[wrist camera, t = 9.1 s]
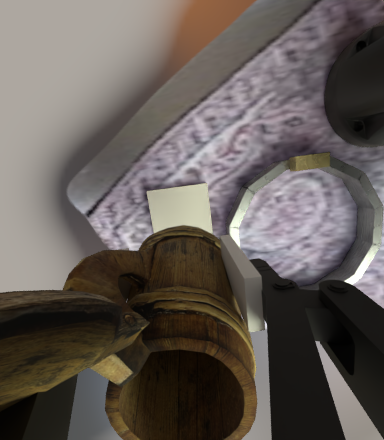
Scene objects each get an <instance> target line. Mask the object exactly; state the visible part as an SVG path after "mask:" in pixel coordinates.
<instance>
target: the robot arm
mask: <svg viewBox="0 0 384 440" xmlns="http://www.w3.org/2000/svg"><path fill="white" fill-rule="evenodd" d="M325 108H326V113H327V116H328V119H329V122H330V124H331V126H332V127H333V129H334V130H335V132H336V133H337V134H338V135H339V136H340V137H341V138H342V139H344V140H345V141H347V142H348V143H350V144H353V145H356V146H360V147H378V146H384V21H382V22H380V23H378V24H376V25H375V26H373V27H371V28H370V29H368V30H367V31H365V32H364V33H363V34H361V35H360V36H359V37H358V38H356V39H355V40H354V41H353V42H352V43H350V44H349V45H348V46H347V47H346V48H345V49H344V50H343V51H342V53H341V54H340V55H339V57H338V58H337V60H336V61H335V63H334V65H333V67H332V69H331V71H330V74H329V77H328V80H327V84H326V89H325ZM220 245H221V254H222V259H223V262H224V266H225V269H226V272H227V275H228V278H229V281H230V285H231V288H232V291H233V295H234V297H235V300H236V302H237V305H238V307H239V309H240V312H241V314H242V317H243V319H244V322H245V324H246V327H247V329H248V331H249V332H253V331H261V330H265V322H264V320H265V321H266V323H267V333H268V357H269V383H270V407H271V433H272V440H346V439H345V436H344V433H343V430H342V426H341V423H340V420H339V417H338V414H337V410H336V407H335V404H334V401H333V397H332V394H331V391H330V388H329V384H328V381H327V378H326V375H325V372H324V369H323V365H322V362H321V359H320V356H319V352H318V349H317V346H316V342H315V341H320V344H321V345H322V346H323V348H324V349H325V351H326V353H327V354H328V356H329V357H330V359H331V360H332V362H333V363H334V365H335V366H336V368H337V369H338V371H339V372H340V374H341V375H342V377H343V378H344V380H345V381H346V383H347V384H348V386H349V387H350V389H351V390H352V392H353V393H354V395H355V396H356V398H357V399H358V401H359V402H360V404H361V406H362V407H363V409H364V410H365V411H366V413H367V415H368V416H369V418H370V419H371V421H372V422H373V424H374V425H375V427H376V428H377V430H378V431H379V433H380V434H381V436H382V437H383V439H384V309H383V308H382V307H381V306H379V305H378V304H377V303H376V302H374V301H373V300H372V299H370V298H369V297H368V296H366V295H365V294H364V293H363V292H361V291H360V290H359V289H357V288H356V287H355V286H353V285H351V284H350V283H347V282H344V281H341V280H335V279H333V280H324V281H322V282H320V283H319V290H305V289H299V288H298V285H297V284H296V283H295V282H293V281H291V280H288V279H283V278H281V277H280V276H279V275H278V274H277V273H276V272H275V271H274V270H273V269H272V268H271V267H270V266H269V265H268V263H267V262H266V261H264V260H261V259H251V260H249V259H248V258H247V257H246V255H245V254H244V253H243V251H242V250H241V249H240V247H239V246H238V245H237V243H236V242H235V241H234V240H233V238H232V237H231V236H230V234H229V235H222V236H220ZM119 250H128V251H129V248H126V249H119ZM118 288H119V290H120V292H121V295H122V296H123V298H124V300H125V301H127V298H128V296H129V291H130V288H131V284H130V283H129V282H128V281H126V280H124V279H123V278H119V279H118ZM77 376H78V373H77V374H76V375H74V376H72V377H70V378H69V379H67V380H65V381H63V382H62V383H60V384H58V385H56V386H55V387H53V388H51V389H49V390H48V391H43V392H37V393H35V394H33V395H32V396H30V397H28V398H25V399H23V400H21V401H19V402H17V403H16V404H14V405H12V406H10V407H8V408H6V409H4V410H2V411H0V440H67V437H68V431H69V425H70V419H71V413H72V406H73V401H74V394H75V389H76V383H77Z"/></svg>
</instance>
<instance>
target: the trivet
mask: <svg viewBox="0 0 384 440" xmlns="http://www.w3.org/2000/svg"><path fill="white" fill-rule="evenodd" d="M147 197H148V202H149V208H150V214H151V219H152V225H153V231H154V233H156V232H158V231H161V230H164V229H166V228H170V227H175V226H181V225H187V226H193V227H199V228H201V229H203V230H205V231H207V232H209V233H211V234H213V231H212V222H211V214H210V205H209V196H208V187H207V183H203V184H196V185H188V186H181V187H173V188H166V189H159V190H151V191H147Z"/></svg>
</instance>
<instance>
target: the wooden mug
mask: <svg viewBox="0 0 384 440" xmlns="http://www.w3.org/2000/svg"><path fill="white" fill-rule="evenodd" d="M119 278H123V279H124V280H126V281H128V282H129V283H130V284H131V288H130V291H129V296H128V300H127V303H126V301H125V300H124V298H123V296H122V295H121V292H120V290H119V288H118V279H119ZM86 368H91V369H93V370H94V371H96V372H97V373H99V374H101V375H102V376H104V377H105V378H107V379H109V382H108V387H107V392H106V403H105V411H106V413H107V416H108V418H109V421H110V424H111V426H112V427H113V428H114V430H115V431H116V432H117V434H118V435H119V436H120V437H121V438H122V439H123V440H241V439H242V438H243V437H244V436H245V435H246V434H247V433H248V432H249V431H250V429H251V427H252V425H253V422H254V420H255V416H256V408H257V396H256V386H255V381H254V377H255V372H256V364H255V357H254V351H253V346H252V342H251V337H250V333H249V331H248V329H247V327H246V324H245V322H244V320H243V319H242V317H241V313H240V309H239V307H238V305H237V302H236V300H235V297H234V295H233V291H232V288H231V285H230V281H229V278H228V275H227V272H226V269H225V266H224V262H223V259H222V254H221V245H220V240H219V239H218V238H217V237H215V236H214V235H213V234H211V233H209V232H207V231H205V230H203V229H201V228H199V227H193V226H187V225H181V226H175V227H170V228H166V229H164V230H161V231H158V232H156V233H154V234H152V235H151V236H149V237H148V238H147V239H146V240H145V241H144V242H143V243H142V245H141V247H140V248H139V250H138V251H128V250H104V251H101V252H98V253H96V254H93V255H91V256H88V257H86V258H84V259H82V260H81V261H80V262H79V263H78V265H77V266H76V267H75V268H74V269H73V270H72V271H71V273H69V275H68V278H67V280H66V282H65V285H64V288H63V290H39V291H13V292H5V293H0V411H2V410H4V409H6V408H8V407H10V406H12V405H14V404H16V403H17V402H19V401H21V400H23V399H25V398H28V397H30V396H32V395H33V394H35V393H37V392H43V391H48V390H49V389H51V388H53V387H55V386H56V385H58V384H60V383H62V382H63V381H65V380H67V379H69V378H70V377H72V376H74V375H76V374H77V373H79V372H81V371H83V370H84V369H86Z"/></svg>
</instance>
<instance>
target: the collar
mask: <svg viewBox="0 0 384 440" xmlns="http://www.w3.org/2000/svg"><path fill="white" fill-rule="evenodd" d="M315 168H318V169H321V170H323V171H325V172H327V173H329V174H331V175H334V176H336V177H338V178H340V179H342V180H343V182H344V184H345V185H346V187H347V189H348V191H349V192H350V194H351V196H352V197H353V199H354V201H355V203H356V204H357V206H358V215H357V239H356V240H355V242H354V244H353V245H352V247H351V249H350V250H349V252H348V254H347V256H346V257H345V259H344V261H343V262H342V264H341V266H340V267H339V268H337V269H336V270H334V271H333V272H331V273H330V274H328V275H327V276H325V277H324V278H322V279H321V280H319V281H318V282H316V283H315V284H313V285H307V286H299V287H298V288H299V289H305V290H319V283H320V282H322V281H324V280H333V279H335V280H341V281H344V282H347V283H350V284H351V285H352V284H354V283H355V282H357V281H358V280H359V279H360V278H361V277H362V275H363V273H364V272H365V270H366V269H367V267H368V265H369V264H370V262H371V260H372V259H373V257H374V256H375V254H376V252H377V251H378V249H379V248H380V246H379V245H381V236H382V221H383V207H382V206H383V204H382V202H381V201H380V199H379V197H378V195H377V194H376V192H375V190H374V188H373V186H372V185H371V183H370V181H369V179H368V177H367V176H366V174H365V173H364V172H363V171H361V170H359V169H357V168H355V167H353V166H351V165H348V164H346V163H344V162H342V161H340V160H338V159H336V158H334V157H332V156H330V152H327V153H319V154H312V155H304V156H297V157H291V158H290V160H285V161H278V162H274V163H273V164H271V165H270V166H269V167H267V168H266V169H265V170H263V171H262V172H261V173H259V174H258V175H257V176H255V177H254V178H253V179H251V180H250V181H249V182H247V183H246V184H245V185H243V186H242V187H243V188H241V189H240V192H239V194H238V196H237V198H236V200H235V203H234V205H233V207H232V209H231V211H230V214H229V216H228V218H227V220H226V233H227V235H229V234H230V236H231V237H232V238H233V240H234V241H235V242H236V243H237V245H238V246H239V247H240V242H239V231H238V228H239V225H240V223H241V221H242V219H243V217H244V215H245V213H246V211H247V208H248V206H249V204H250V202H251V200H252V198H253V196H254V194H255V193H256V192H257V191H259V190H260V189H261V188H263V187H264V186H265V185H267V184H268V183H269V182H271V181H272V180H273V179H275V178H276V177H277V176H279V175H280V174H281V173H283V172H284V171H286V170H288V169H290V171H300V170H307V169H315ZM358 278H359V279H358Z"/></svg>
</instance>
